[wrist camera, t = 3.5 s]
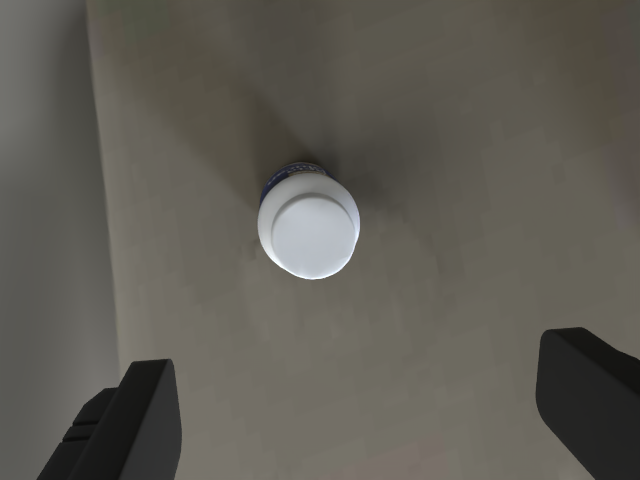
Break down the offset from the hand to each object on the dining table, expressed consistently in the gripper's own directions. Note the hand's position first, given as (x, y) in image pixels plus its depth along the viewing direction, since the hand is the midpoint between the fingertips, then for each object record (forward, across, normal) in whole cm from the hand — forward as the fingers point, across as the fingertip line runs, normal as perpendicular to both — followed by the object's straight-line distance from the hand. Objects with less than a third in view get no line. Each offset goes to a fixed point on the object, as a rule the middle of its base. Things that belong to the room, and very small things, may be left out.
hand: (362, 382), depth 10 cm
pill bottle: (+22, 0, 0) cm, 22 cm away
